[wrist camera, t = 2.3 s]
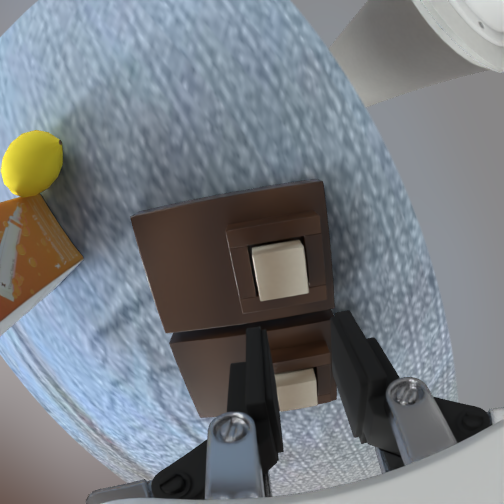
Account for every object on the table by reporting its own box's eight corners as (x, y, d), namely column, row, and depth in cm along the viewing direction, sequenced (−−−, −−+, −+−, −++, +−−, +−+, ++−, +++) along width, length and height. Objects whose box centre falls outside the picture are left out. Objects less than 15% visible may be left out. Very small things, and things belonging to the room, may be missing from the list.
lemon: (34, 202, 22) (-4, 214, 17) (20, 151, 20) (-18, 155, 15) (86, 172, 21) (49, 179, 16) (71, 116, 20) (33, 111, 14)
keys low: (316, 178, 22) (330, 183, 18) (328, 296, 25) (341, 319, 21) (139, 211, 22) (120, 222, 18) (171, 320, 25) (160, 346, 22)
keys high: (329, 306, 25) (341, 330, 21) (332, 385, 28) (340, 412, 24) (174, 329, 26) (164, 355, 22) (202, 403, 29) (198, 430, 25)
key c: (299, 238, 19) (304, 246, 18) (304, 282, 20) (309, 293, 19) (251, 246, 20) (251, 255, 18) (259, 290, 21) (260, 301, 19)
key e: (312, 366, 23) (316, 380, 21) (314, 391, 24) (317, 405, 22) (274, 372, 23) (275, 387, 21) (278, 397, 24) (280, 412, 22)
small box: (86, 257, 23) (-8, 332, 11) (53, 291, 25) (-27, 364, 12) (39, 189, 21) (-69, 223, 9) (11, 229, 22) (-80, 275, 10)
